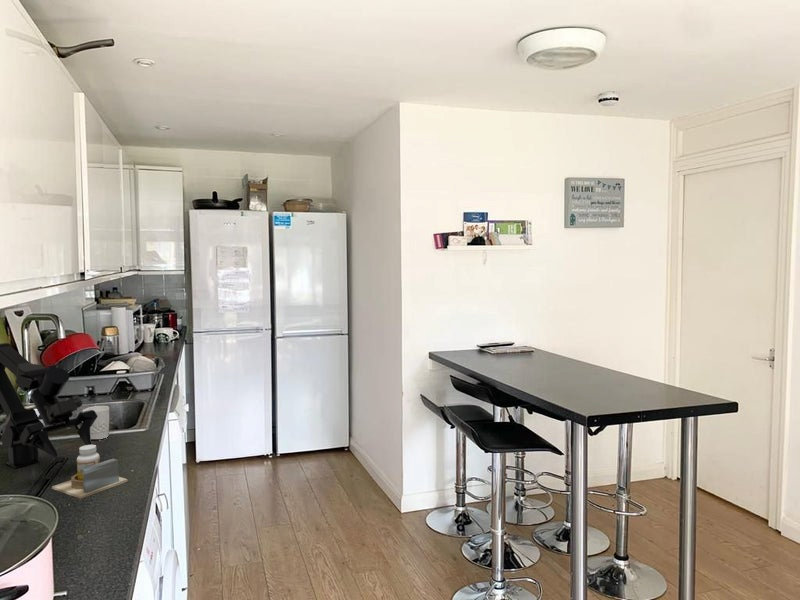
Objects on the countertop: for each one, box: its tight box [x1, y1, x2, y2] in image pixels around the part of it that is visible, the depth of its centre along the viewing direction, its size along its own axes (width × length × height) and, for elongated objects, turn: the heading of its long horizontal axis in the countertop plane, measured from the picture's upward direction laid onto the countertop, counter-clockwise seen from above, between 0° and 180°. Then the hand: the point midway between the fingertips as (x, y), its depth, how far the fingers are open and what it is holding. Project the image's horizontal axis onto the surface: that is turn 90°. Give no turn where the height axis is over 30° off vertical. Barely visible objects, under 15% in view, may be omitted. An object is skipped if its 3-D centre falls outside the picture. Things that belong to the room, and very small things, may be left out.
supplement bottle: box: [76, 444, 101, 481], centre depth 158 cm, size 5×5×10 cm
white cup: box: [82, 405, 110, 439], centre depth 198 cm, size 8×8×10 cm
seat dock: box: [51, 458, 128, 500], centre depth 158 cm, size 13×13×6 cm
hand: (73, 451), depth 161 cm, fingers open, 9 cm apart
